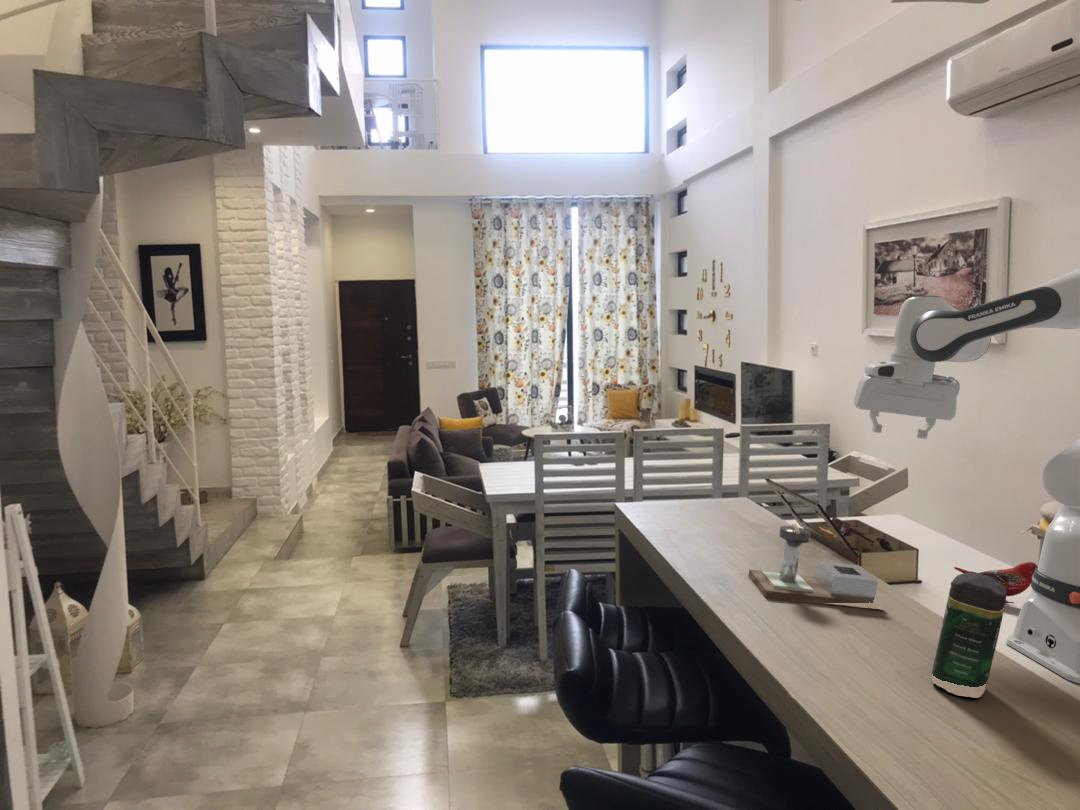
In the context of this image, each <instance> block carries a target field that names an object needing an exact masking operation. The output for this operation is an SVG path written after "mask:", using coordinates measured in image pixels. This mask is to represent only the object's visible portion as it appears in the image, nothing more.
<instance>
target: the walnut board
mask: <svg viewBox="0 0 1080 810" xmlns="http://www.w3.org/2000/svg"><path fill="white" fill-rule="evenodd" d="M779 576H780V572H774V571H767V570H756V569H748V578H749V580H751V581H752V582H753V584H754V585H755V586H756V588H757V590H758V591H759V592H760V593H761V594H762V595H763V596H764V598H765V599H772V600H781V601H791V602H798V603H799V602H800V603H809V604H816V603H869V602H870V603H873V602H874V601H873V600H870V599H861V598H852V597H843V596H834V595H830V594H829V593H828V592H827V591H826V590H825V589H824V588H823V587H822V586H821V585H820V584H819V583H818V582H817V581H816V580H815V579H814V577H815V576H814V575H813V576H811V575H802V574H797V575H796V580H795V583H787V582H783V581H781V580H780V579H779Z"/></svg>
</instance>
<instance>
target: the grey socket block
mask: <svg viewBox="0 0 1080 810" xmlns="http://www.w3.org/2000/svg"><path fill="white" fill-rule="evenodd" d="M815 567H816V568H815V572H814V576H813V577H814V579H815V580H816V581H817V582H818V583H819V584H820V585H821V586H822V587H823V588H824V589H825V590H826V591H827V592H828V593H829V594H830V595H834V596H843V597H852V598H861V599H870V600H874V599H875V595H876V593H877V588H878V583H879V580H877V579H876V578H875V577H873V575H871V574H870V573H869V572H868V571H866V570H865V569H864V568H863V567H862V566H860V565H859V564H858V565H857V564H850V563H849V564H848V563H840V562H830V561H821V560H817V562H816V566H815Z"/></svg>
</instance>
